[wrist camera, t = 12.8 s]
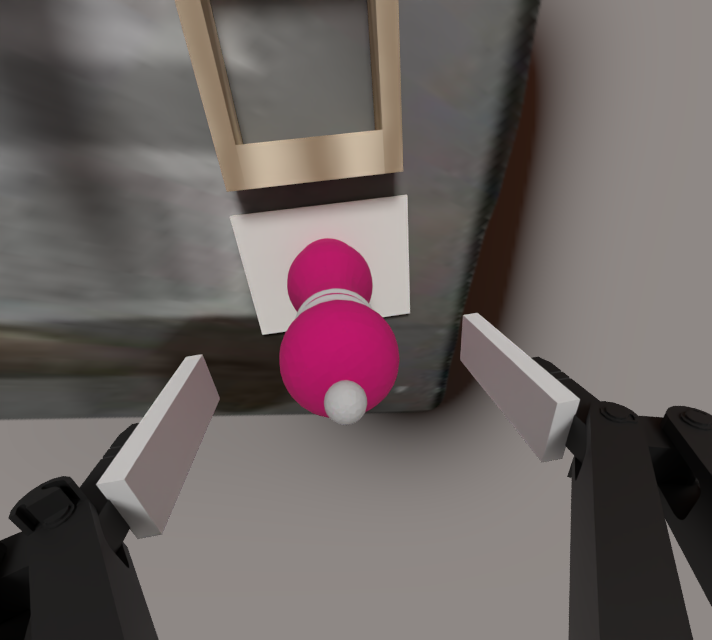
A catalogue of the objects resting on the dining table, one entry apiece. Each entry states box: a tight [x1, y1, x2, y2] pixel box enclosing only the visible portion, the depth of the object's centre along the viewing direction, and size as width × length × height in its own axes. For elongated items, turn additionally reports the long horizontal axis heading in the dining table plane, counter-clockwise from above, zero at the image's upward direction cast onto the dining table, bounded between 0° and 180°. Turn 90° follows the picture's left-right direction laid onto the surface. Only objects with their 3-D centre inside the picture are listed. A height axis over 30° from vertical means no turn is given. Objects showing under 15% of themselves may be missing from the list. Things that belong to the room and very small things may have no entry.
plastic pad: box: [230, 195, 410, 335], centre depth 30 cm, size 16×12×1 cm
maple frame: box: [175, 0, 403, 192], centre depth 21 cm, size 14×17×3 cm
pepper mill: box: [280, 238, 399, 425], centre depth 20 cm, size 7×7×20 cm
